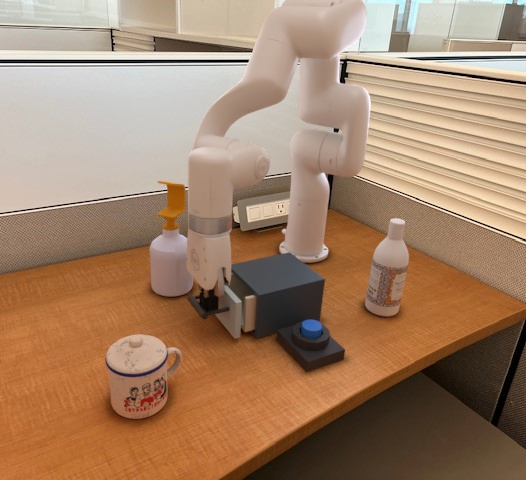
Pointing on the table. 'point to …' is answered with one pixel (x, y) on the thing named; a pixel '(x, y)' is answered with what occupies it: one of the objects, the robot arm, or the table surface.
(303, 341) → the panel
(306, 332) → the button
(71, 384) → the table surface
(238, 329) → the drawer
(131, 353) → the teacup with lid
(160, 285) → the soap bottle
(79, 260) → the table surface
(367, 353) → the table surface
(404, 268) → the bath foam
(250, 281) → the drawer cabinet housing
